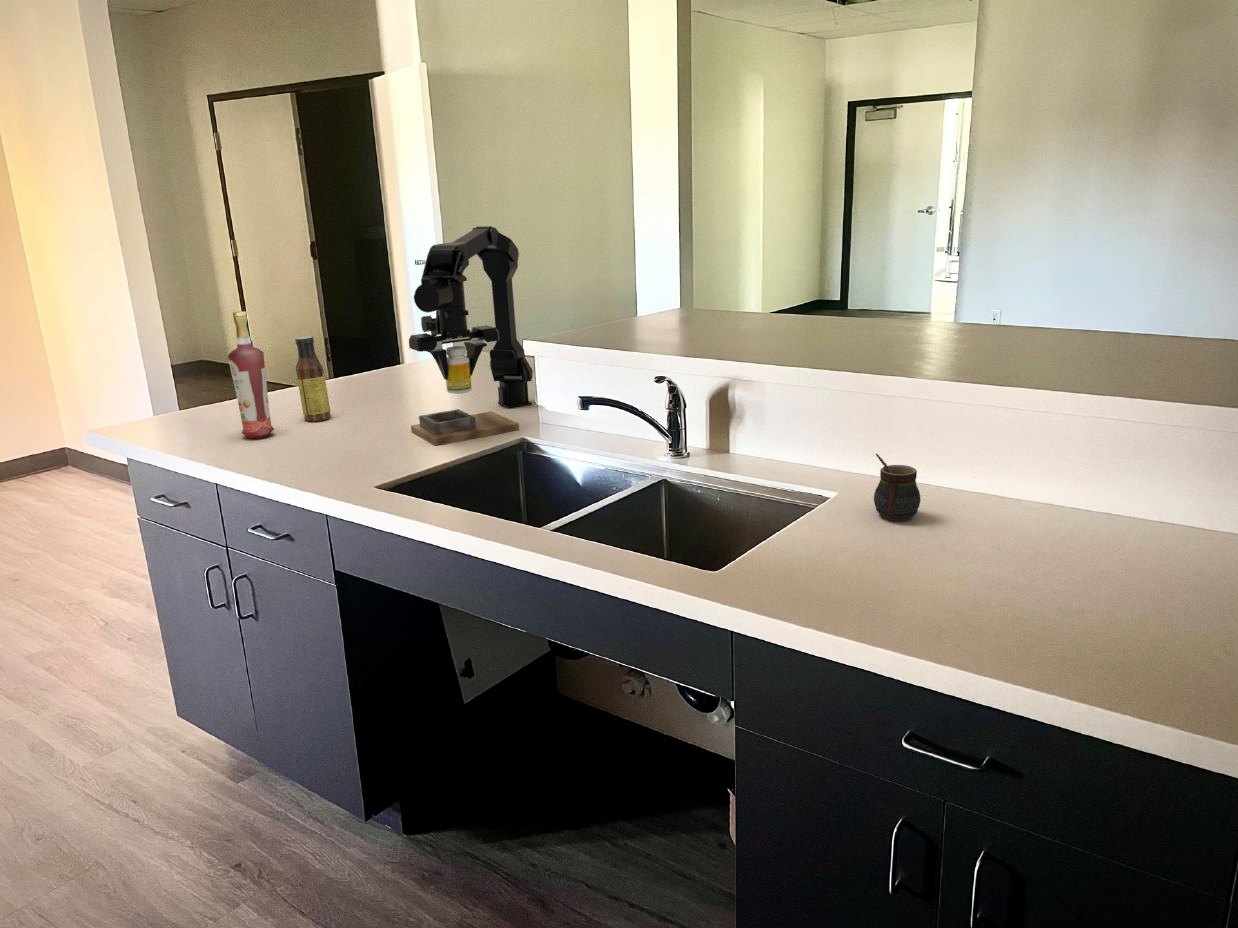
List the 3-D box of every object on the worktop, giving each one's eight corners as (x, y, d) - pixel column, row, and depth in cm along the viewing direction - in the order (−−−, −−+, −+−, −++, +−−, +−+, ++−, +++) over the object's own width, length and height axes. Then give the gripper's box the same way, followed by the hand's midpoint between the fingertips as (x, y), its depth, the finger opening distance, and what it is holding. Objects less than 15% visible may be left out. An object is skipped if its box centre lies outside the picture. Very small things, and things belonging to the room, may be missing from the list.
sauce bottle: (336, 417, 218) (326, 335, 212) (318, 423, 213) (307, 340, 207) (315, 415, 221) (304, 334, 215) (297, 421, 216) (285, 338, 210)
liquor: (281, 435, 204) (263, 311, 195) (250, 442, 199) (230, 315, 190) (266, 430, 209) (247, 308, 200) (235, 437, 204) (214, 313, 195)
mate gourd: (913, 527, 140) (916, 466, 137) (865, 520, 144) (867, 460, 141) (925, 512, 146) (928, 453, 143) (878, 505, 150) (881, 448, 147)
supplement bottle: (444, 390, 198) (439, 347, 195) (467, 387, 200) (463, 344, 197) (451, 395, 193) (447, 351, 190) (475, 392, 196) (471, 348, 193)
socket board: (492, 417, 214) (490, 401, 212) (519, 429, 202) (517, 412, 201) (411, 431, 203) (409, 414, 202) (435, 445, 192) (433, 427, 191)
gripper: (475, 297, 202) (480, 365, 207) (395, 306, 193) (403, 378, 197) (497, 302, 194) (502, 373, 198) (415, 311, 184) (423, 386, 189)
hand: (458, 377), depth 196 cm, fingers closed on supplement bottle, 5 cm apart
